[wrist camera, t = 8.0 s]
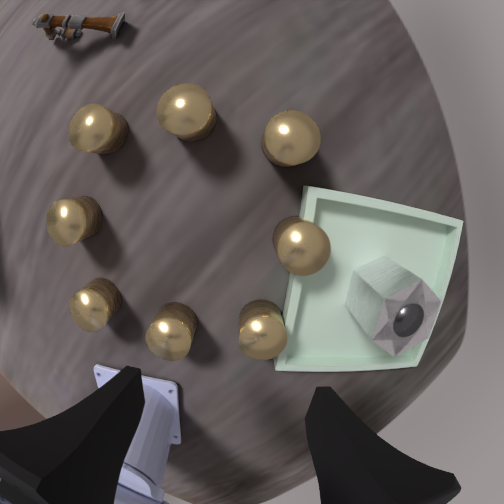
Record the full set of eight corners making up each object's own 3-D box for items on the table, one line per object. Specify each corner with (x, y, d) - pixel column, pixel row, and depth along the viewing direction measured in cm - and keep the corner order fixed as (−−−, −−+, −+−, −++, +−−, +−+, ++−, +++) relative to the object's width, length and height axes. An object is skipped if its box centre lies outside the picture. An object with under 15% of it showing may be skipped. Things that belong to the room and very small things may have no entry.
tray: (409, 357, 21) (416, 366, 20) (273, 358, 20) (275, 370, 19) (451, 218, 18) (463, 221, 16) (303, 185, 17) (308, 186, 16)
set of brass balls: (294, 349, 20) (301, 373, 17) (77, 317, 19) (59, 333, 16) (334, 116, 16) (350, 106, 13) (81, 103, 15) (59, 94, 12)
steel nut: (390, 321, 19) (421, 355, 15) (340, 319, 19) (364, 359, 14) (408, 258, 18) (448, 281, 13) (356, 251, 18) (391, 276, 13)
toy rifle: (46, 29, 12) (35, 8, 8) (124, 33, 16) (125, 10, 12) (38, 45, 12) (24, 27, 8) (116, 50, 16) (115, 29, 12)
